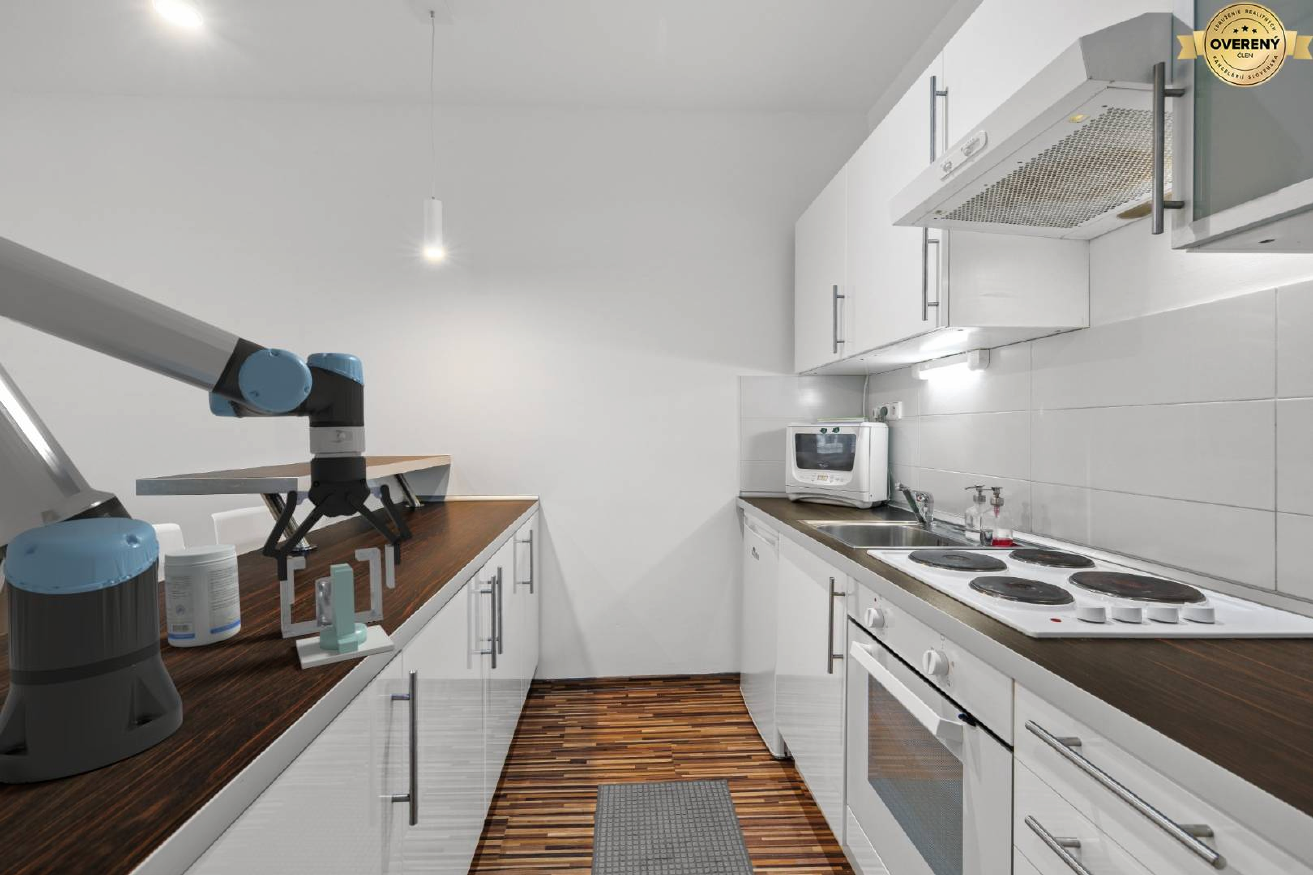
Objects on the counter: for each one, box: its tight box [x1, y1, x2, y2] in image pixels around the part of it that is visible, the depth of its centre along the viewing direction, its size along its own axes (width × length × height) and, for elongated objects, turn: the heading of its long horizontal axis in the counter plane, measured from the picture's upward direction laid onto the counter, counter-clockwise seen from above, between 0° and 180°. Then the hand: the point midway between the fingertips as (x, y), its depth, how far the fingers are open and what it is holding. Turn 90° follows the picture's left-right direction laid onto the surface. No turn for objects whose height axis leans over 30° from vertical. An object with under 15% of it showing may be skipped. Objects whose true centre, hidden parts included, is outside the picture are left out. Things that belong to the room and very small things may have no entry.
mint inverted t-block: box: [319, 562, 368, 654], centre depth 92 cm, size 11×6×12 cm, turn 35°
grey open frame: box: [279, 546, 384, 639], centre depth 103 cm, size 15×5×12 cm, turn 125°
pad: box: [295, 624, 395, 670], centre depth 92 cm, size 12×12×1 cm
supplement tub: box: [163, 543, 242, 648], centre depth 98 cm, size 10×10×15 cm
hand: (342, 594), depth 92 cm, fingers open, 13 cm apart
